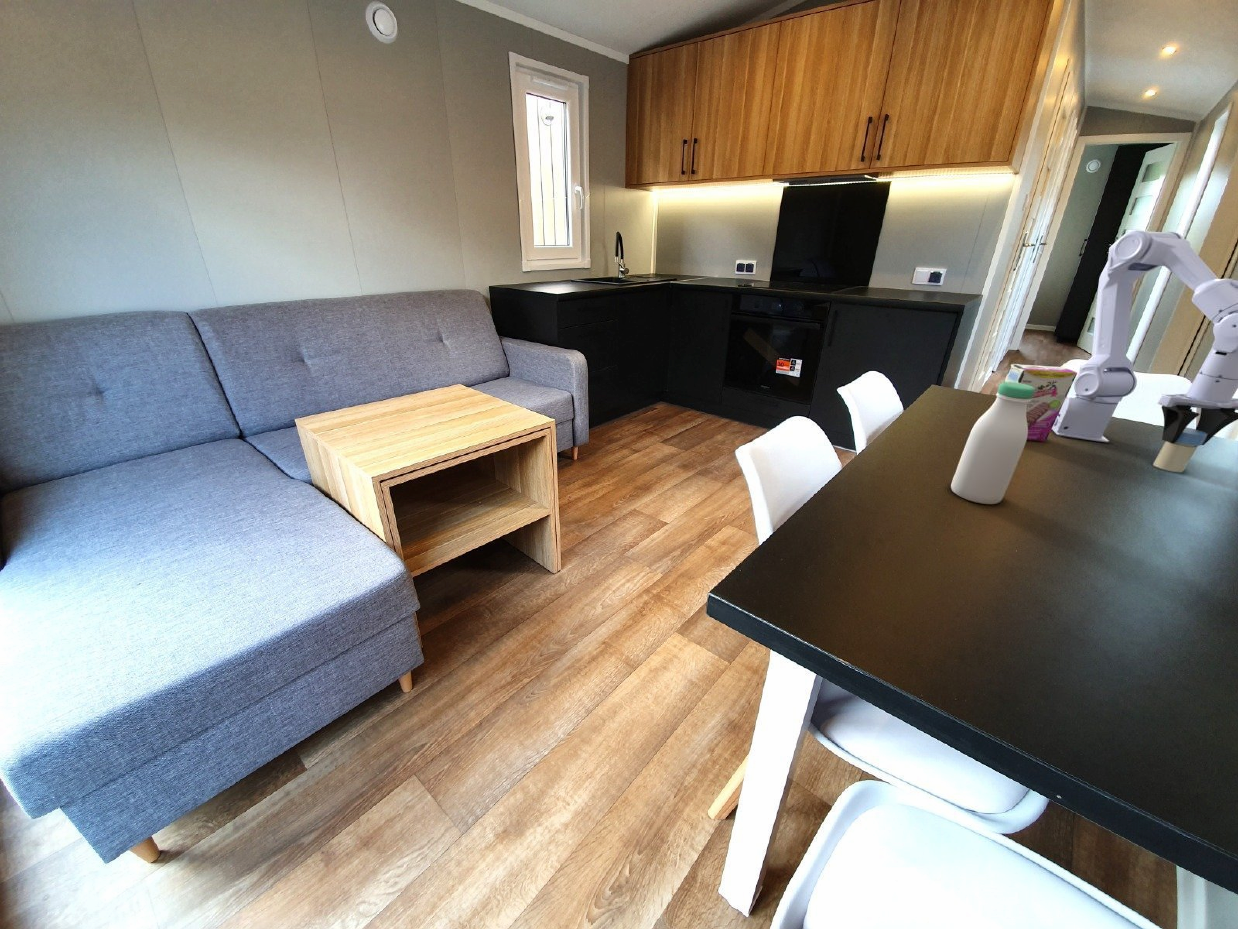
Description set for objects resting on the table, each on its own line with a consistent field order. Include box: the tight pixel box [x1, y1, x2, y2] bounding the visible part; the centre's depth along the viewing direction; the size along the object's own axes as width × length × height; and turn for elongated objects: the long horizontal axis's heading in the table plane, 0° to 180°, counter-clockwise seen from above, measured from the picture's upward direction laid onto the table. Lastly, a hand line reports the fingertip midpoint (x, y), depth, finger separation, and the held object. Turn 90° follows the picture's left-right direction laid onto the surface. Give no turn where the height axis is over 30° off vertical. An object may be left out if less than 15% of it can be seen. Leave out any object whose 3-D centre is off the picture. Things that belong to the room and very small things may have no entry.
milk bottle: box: [950, 381, 1035, 505], centre depth 82 cm, size 8×8×20 cm
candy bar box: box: [1004, 363, 1078, 442], centre depth 110 cm, size 11×5×16 cm, turn 84°
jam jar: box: [1152, 441, 1199, 473], centre depth 99 cm, size 4×4×8 cm
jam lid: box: [1176, 426, 1208, 447], centre depth 97 cm, size 5×5×2 cm
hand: (1182, 442), depth 98 cm, fingers closed on jam lid, 5 cm apart
